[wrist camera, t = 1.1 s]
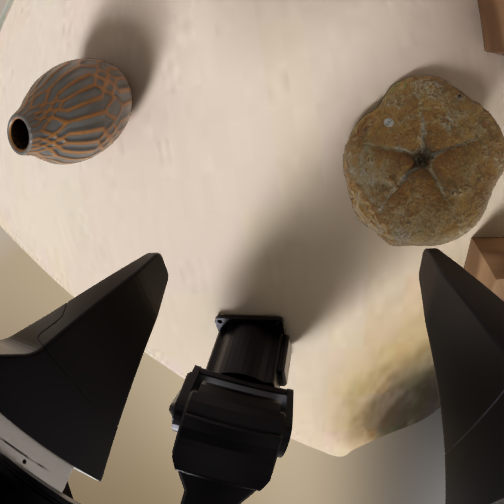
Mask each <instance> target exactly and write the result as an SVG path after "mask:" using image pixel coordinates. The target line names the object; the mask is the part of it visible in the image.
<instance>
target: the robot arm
mask: <svg viewBox="0 0 504 504" xmlns="http://www.w3.org/2000/svg"><path fill="white" fill-rule="evenodd" d="M167 281H168V272H167V269H166V266H165V264H164V261H163V258H162V256H161V254H159V253H147V254H146V255H144V256H142V257H140V258H139V259H137V260H135V261H134V262H132V263H130V264H129V265H127V266H125V267H124V268H122V269H120V270H119V271H117V272H115V273H114V274H112V275H110V276H109V277H107V278H105V279H104V280H102V281H101V282H99V283H97V284H96V285H94V286H92V287H91V288H89V289H88V290H86V291H84V292H83V293H81V294H80V295H78V296H76V297H75V298H73V299H72V300H70V301H69V302H68V303H65V304H64V305H62V306H61V307H59V308H58V309H56V310H54V311H53V312H51V313H50V314H48V315H46V316H45V317H43V318H41V319H40V320H38V321H36V322H35V323H33V324H31V325H29V326H28V327H26V328H24V329H23V330H21V331H19V332H17V333H16V334H14V335H13V336H11V337H9V338H6V339H3V340H0V504H80V503H78V502H76V501H74V500H73V497H72V494H71V491H70V488H69V485H68V479H69V476H70V474H71V472H72V469H73V468H74V469H76V470H78V471H80V472H82V473H84V474H86V475H88V476H90V477H92V478H94V479H96V480H98V481H101V479H102V477H103V474H104V470H105V467H106V463H107V460H108V457H109V453H110V450H111V446H112V443H113V440H114V437H115V434H116V431H117V428H118V427H117V426H118V424H119V421H120V418H121V415H122V412H123V409H124V406H125V403H126V400H127V397H128V394H129V392H130V389H131V386H132V383H133V380H134V377H135V375H136V372H137V369H138V366H139V364H140V361H141V358H142V355H143V353H144V350H145V348H146V345H147V342H148V340H149V337H150V334H151V332H152V329H153V327H154V324H155V321H156V319H157V316H158V313H159V309H160V306H161V302H162V298H163V295H164V291H165V288H166V285H167ZM419 281H420V287H421V294H422V301H423V308H424V316H425V323H426V328H427V333H428V337H429V342H430V347H431V352H432V357H433V362H434V368H435V373H436V379H437V386H438V392H439V399H440V407H441V415H442V424H443V435H444V448H445V474H446V504H504V301H503V300H502V299H501V298H499V297H498V296H497V295H496V294H495V293H493V292H492V291H491V290H490V289H489V288H487V287H486V286H485V285H484V284H483V283H481V282H480V281H479V280H478V279H476V278H475V277H474V276H473V275H471V274H470V273H469V272H468V271H466V270H465V269H464V268H462V267H461V266H460V265H458V264H457V263H456V262H455V261H453V260H452V259H451V258H449V257H448V256H447V255H445V254H444V253H443V252H441V251H440V250H438V249H436V248H433V249H425V250H424V252H423V255H422V261H421V266H420V271H419ZM215 323H216V326H217V328H218V331H219V333H218V336H217V339H216V342H215V345H214V347H213V350H212V353H211V356H210V359H209V362H208V365H207V367H206V369H203V368H201V367H200V366H196V365H195V367H194V369H193V371H192V372H190V373H187V376H186V379H185V381H184V384H183V386H182V389H181V390H180V391H179V393H178V394H177V396H176V397H175V399H174V400H173V402H172V403H171V405H170V408H169V411H170V413H171V415H172V430H173V431H176V432H178V433H177V436H176V440H175V443H174V447H173V451H172V453H173V455H172V458H173V463H174V467H175V470H177V471H178V473H179V476H180V479H181V481H182V484H183V487H184V494H183V497H182V501H181V504H241V503H242V502H243V501H244V500H245V499H247V498H248V497H249V496H250V495H252V494H253V493H254V492H255V491H256V490H258V491H260V490H262V489H263V488H264V487H265V486H266V485H267V483H268V482H269V481H270V479H271V475H272V473H273V469H274V466H275V462H276V459H277V457H282V456H283V455H284V453H285V451H286V449H287V446H288V443H289V440H290V436H291V431H292V421H293V390H292V389H282V388H280V386H285V385H286V384H287V379H288V373H289V366H290V359H291V343H290V337H289V336H288V335H286V333H285V325H284V320H283V319H282V318H281V317H263V316H230V315H218V316H216V319H215Z"/></svg>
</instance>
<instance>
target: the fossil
mask: <svg viewBox="0 0 504 504" xmlns="http://www.w3.org/2000/svg"><path fill="white" fill-rule="evenodd" d="M343 168H344V175H345V178H346V181H347V187H348V191H349V195H350V198H351V200H352V203H353V204H352V207H353V209H354V211H355V212H356V213H357V216H358V217H359V219H360V221H361V222H362V223H364V224H365V225H366V226H368V227H370V228H372V229H373V230H374V231H376V232H377V233H378V235H379V236H380V237H381V238H383V239H384V240H385V241H386V242H387V243H388V244H390V245H393V246H411V245H414V246H434V245H441V244H445V243H448V242H450V241H453V240H455V239H458V238H459V237H461V236H462V235H464V234H465V233H467V232H468V231H469V230H470V229H471V228H473V227H474V226H475V225H476V224H477V222H478V221H479V220H480V219H481V217H482V215H483V213H484V211H485V210H486V207H487V204H488V201H489V199H490V197H491V193H492V190H493V188H494V187H495V185H496V182H497V181H498V179H499V178H500V176H501V175H502V174H503V171H504V136H503V134H502V132H501V129H500V127H499V125H498V124H497V123H496V121H495V119H494V118H493V117H492V115H491V114H490V113H489V111H487V110H485V109H484V108H483V106H481V105H480V104H479V103H477V102H474V101H473V100H471V99H470V98H469V97H468V96H466V95H465V94H464V93H462V92H461V91H460V90H458V89H457V88H455V87H454V86H452V85H450V84H449V83H448V82H447V81H446V80H444V79H442V78H439V77H435V76H411V77H409V78H407V79H405V80H402V81H400V82H397V83H395V84H394V86H392V87H391V88H390V89H389V90H388V92H387V94H386V95H385V97H384V98H383V99H382V102H381V104H380V106H379V107H378V108H377V109H375V110H374V111H373V112H371V113H369V114H367V115H365V116H364V117H363V118H362V119H361V120H360V121H359V122H358V124H357V125H356V126H355V128H354V130H353V131H352V133H351V135H350V137H349V140H348V142H347V144H346V145H345V151H344V155H343Z"/></svg>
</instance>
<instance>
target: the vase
mask: <svg viewBox="0 0 504 504" xmlns="http://www.w3.org/2000/svg"><path fill="white" fill-rule="evenodd" d="M131 109H132V94H131V89H130V86H129V83H128V81H127V79H126V77H125V76H124V75H123V73H122V72H121V71H120V70H119V69H117V68H116V67H115V66H113V65H112V64H110V63H107V62H105V61H102V60H98V59H92V58H84V59H75V60H71V61H67V62H64V63H61V64H59V65H57V66H55V67H53V68H52V69H50V70H49V71H47V72H46V73H44V74H43V75H42V76H41V77H40V78H39V79H38V80H37V81H36V82H35V83H34V84H33V85H32V87H31V88H30V90H29V91H28V93H27V95H26V96H25V98H24V100H23V102H22V104H21V106H20V108H19V109H18V110H17V111H16V112H15V113H14V115H13V116H12V117H11V118H10V120H9V123H8V128H7V134H8V140H9V143H10V145H11V147H12V149H13V150H14V151H15V152H16V153H17V154H19V155H32V156H35V157H37V158H39V159H41V160H44V161H47V162H49V163H54V164H72V163H77V162H81V161H84V160H87V159H90V158H92V157H94V156H96V155H97V154H99V153H100V152H102V151H104V150H105V149H106V148H107V147H109V146H110V145H111V144H112V143H113V142H114V141H115V140H116V139H117V138H118V137H119V135H120V134H121V133H122V131H123V130H124V128H125V126H126V124H127V122H128V120H129V117H130V114H131Z"/></svg>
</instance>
